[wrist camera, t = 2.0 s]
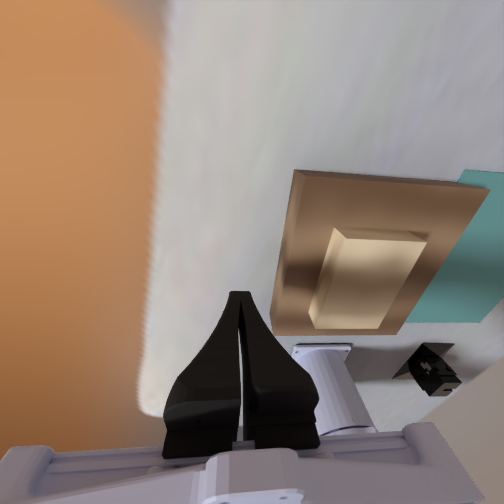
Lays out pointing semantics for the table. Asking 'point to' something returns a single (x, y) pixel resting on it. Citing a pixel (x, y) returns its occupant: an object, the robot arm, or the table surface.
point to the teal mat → (470, 263)
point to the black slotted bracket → (430, 369)
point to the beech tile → (362, 276)
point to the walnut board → (366, 217)
